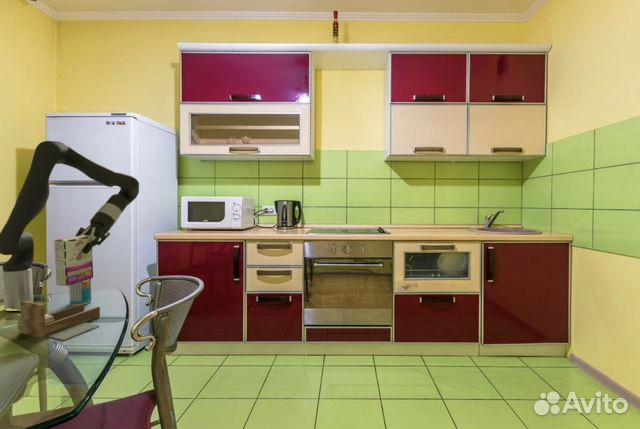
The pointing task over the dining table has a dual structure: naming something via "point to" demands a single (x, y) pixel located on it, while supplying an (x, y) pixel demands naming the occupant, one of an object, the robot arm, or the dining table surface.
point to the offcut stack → (48, 319)
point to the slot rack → (63, 319)
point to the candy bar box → (72, 260)
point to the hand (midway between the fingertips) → (78, 251)
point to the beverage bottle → (80, 292)
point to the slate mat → (73, 331)
